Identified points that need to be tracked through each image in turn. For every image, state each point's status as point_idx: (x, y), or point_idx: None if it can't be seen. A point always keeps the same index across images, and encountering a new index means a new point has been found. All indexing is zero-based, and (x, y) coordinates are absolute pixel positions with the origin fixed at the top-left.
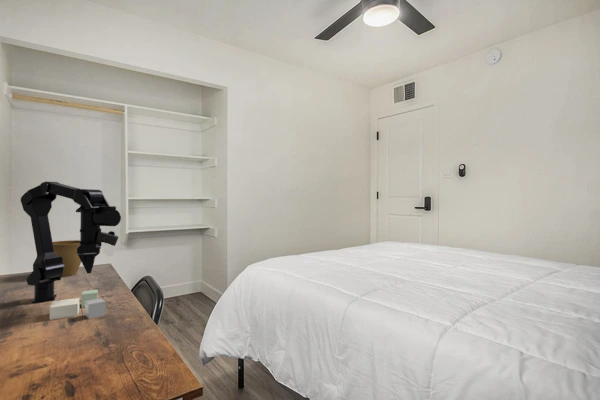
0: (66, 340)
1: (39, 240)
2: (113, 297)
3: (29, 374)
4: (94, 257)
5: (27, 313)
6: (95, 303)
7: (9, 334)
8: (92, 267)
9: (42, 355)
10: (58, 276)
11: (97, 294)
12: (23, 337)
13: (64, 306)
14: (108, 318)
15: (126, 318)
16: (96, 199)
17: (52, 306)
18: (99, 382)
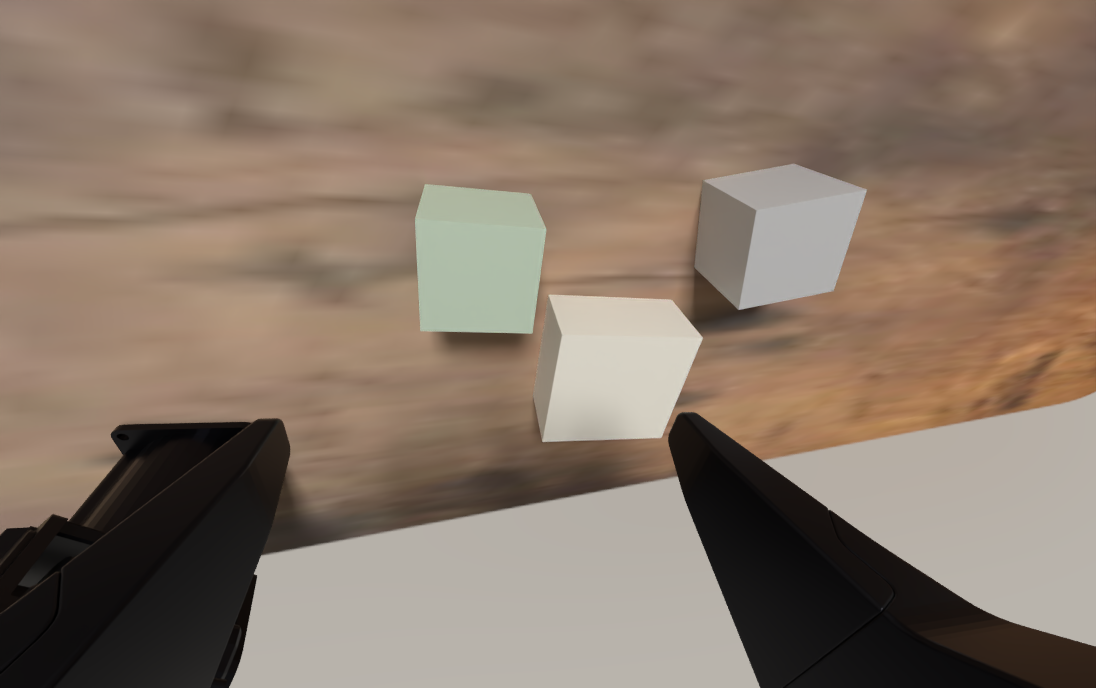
0: (940, 324)
1: None
2: (324, 24)
3: (1053, 378)
4: (1008, 625)
5: (472, 471)
6: (845, 253)
7: None
8: (282, 422)
9: (977, 369)
10: (73, 557)
11: (471, 211)
12: (772, 431)
13: (678, 386)
14: (868, 153)
15: (983, 40)
16: None
17: (651, 431)
18: None
